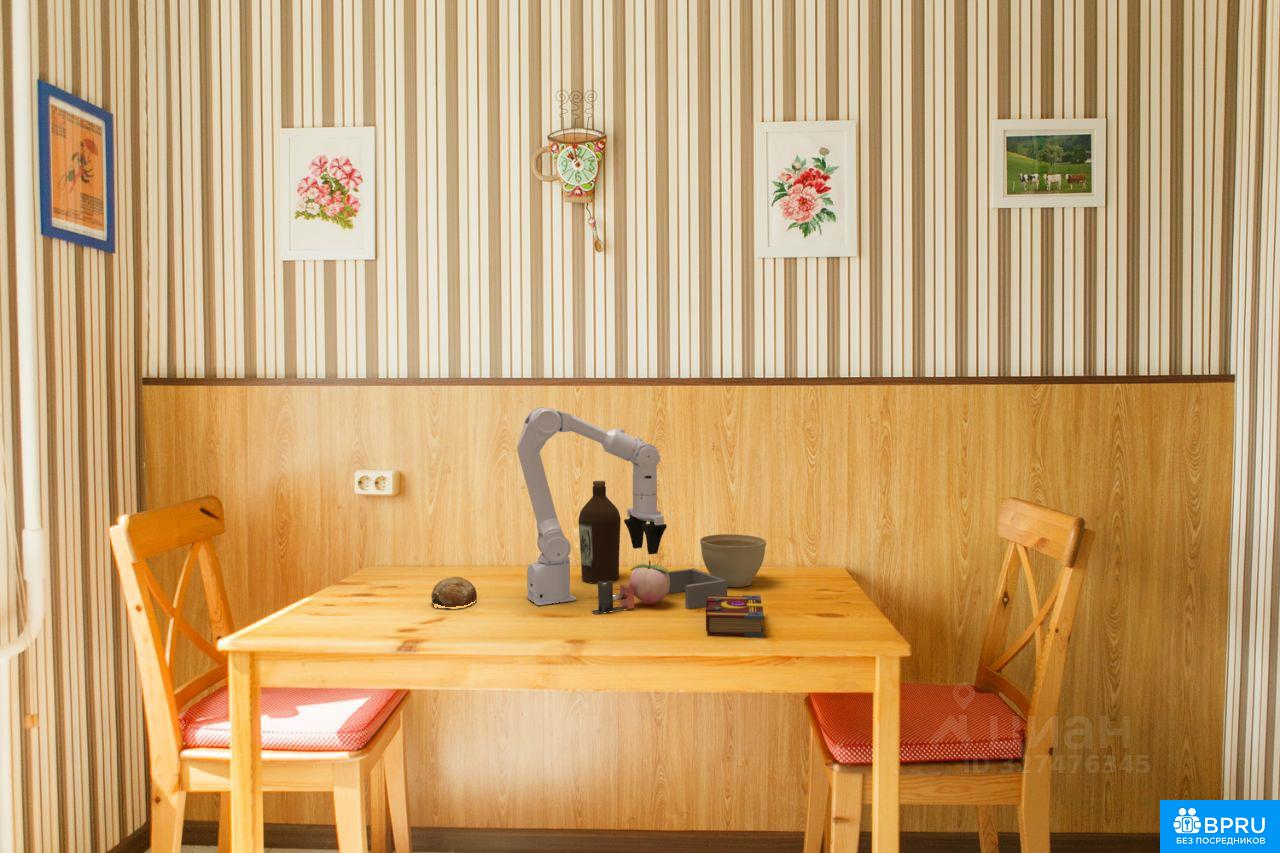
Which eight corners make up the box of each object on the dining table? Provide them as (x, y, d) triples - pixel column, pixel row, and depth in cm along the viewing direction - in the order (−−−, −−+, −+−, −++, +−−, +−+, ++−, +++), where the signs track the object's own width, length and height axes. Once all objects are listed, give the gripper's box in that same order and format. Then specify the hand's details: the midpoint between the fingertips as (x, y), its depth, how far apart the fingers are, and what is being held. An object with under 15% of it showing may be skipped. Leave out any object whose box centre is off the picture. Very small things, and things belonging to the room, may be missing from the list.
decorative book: (705, 637, 151) (705, 612, 150) (707, 613, 167) (707, 590, 166) (764, 639, 149) (764, 613, 149) (760, 615, 165) (760, 591, 165)
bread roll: (428, 620, 176) (416, 592, 172) (455, 591, 184) (444, 564, 180) (462, 626, 171) (451, 597, 168) (488, 596, 179) (478, 568, 176)
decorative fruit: (675, 601, 176) (674, 557, 175) (666, 611, 168) (666, 565, 167) (635, 598, 178) (634, 555, 178) (625, 608, 170) (624, 563, 170)
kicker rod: (602, 612, 166) (602, 584, 165) (595, 608, 169) (595, 581, 169) (634, 607, 169) (633, 580, 169) (626, 603, 172) (626, 576, 172)
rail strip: (595, 614, 166) (595, 613, 166) (590, 612, 168) (590, 610, 168) (632, 609, 170) (632, 607, 170) (627, 606, 172) (627, 605, 172)
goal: (688, 609, 169) (688, 586, 169) (656, 594, 182) (656, 573, 182) (727, 602, 174) (727, 580, 174) (693, 588, 187) (693, 568, 186)
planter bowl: (745, 595, 180) (745, 548, 180) (687, 585, 190) (687, 541, 190) (777, 581, 193) (777, 538, 193) (722, 572, 203) (721, 531, 203)
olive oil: (610, 572, 204) (608, 478, 203) (628, 581, 195) (627, 482, 194) (572, 577, 199) (571, 480, 198) (589, 586, 190) (588, 484, 189)
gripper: (675, 496, 179) (675, 554, 180) (645, 489, 192) (645, 544, 192) (648, 498, 176) (648, 557, 176) (619, 491, 188) (619, 546, 189)
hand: (645, 550), depth 184 cm, fingers open, 7 cm apart
